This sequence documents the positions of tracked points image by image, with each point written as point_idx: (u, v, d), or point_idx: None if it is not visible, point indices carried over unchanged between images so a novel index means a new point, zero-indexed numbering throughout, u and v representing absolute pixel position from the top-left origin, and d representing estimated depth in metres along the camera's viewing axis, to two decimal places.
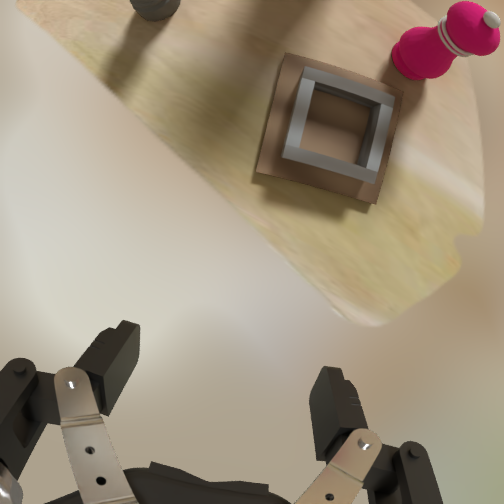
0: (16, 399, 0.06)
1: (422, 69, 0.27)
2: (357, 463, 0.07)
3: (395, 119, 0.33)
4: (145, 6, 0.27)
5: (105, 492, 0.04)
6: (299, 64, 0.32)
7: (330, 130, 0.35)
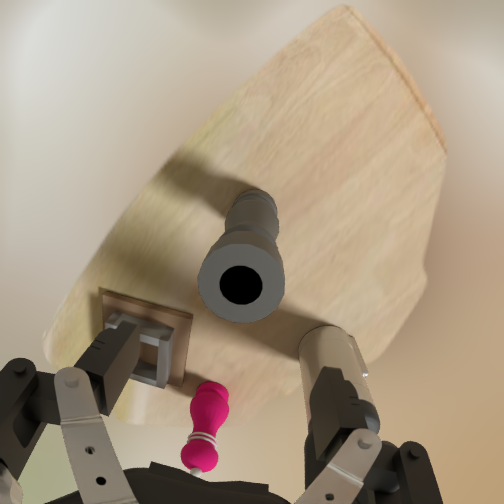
0: (16, 399, 0.06)
1: (190, 407, 0.49)
2: (357, 463, 0.07)
3: None
4: None
5: (105, 492, 0.04)
6: (182, 328, 0.48)
7: None
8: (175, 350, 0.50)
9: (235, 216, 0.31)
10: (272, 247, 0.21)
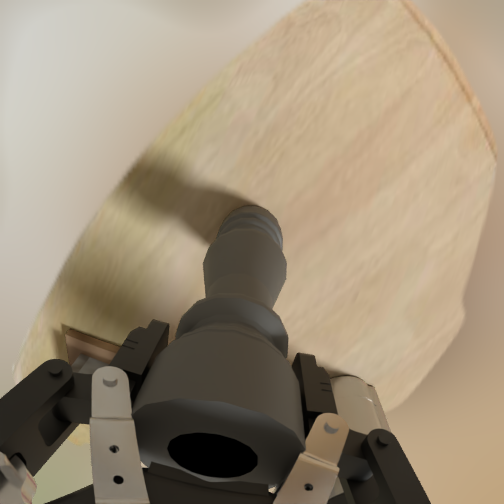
0: (46, 400, 0.06)
1: None
2: (328, 449, 0.07)
3: None
4: None
5: (105, 492, 0.04)
6: None
7: None
8: None
9: (217, 262, 0.19)
10: (280, 374, 0.09)
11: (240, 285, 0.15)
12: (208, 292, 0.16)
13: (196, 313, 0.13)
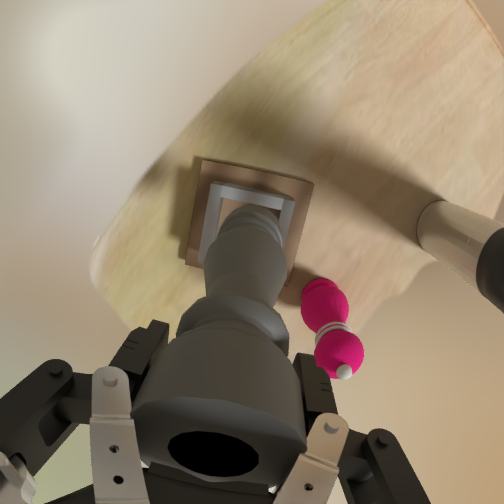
0: (46, 400, 0.06)
1: (305, 305, 0.43)
2: (328, 449, 0.07)
3: None
4: None
5: (105, 492, 0.04)
6: (302, 196, 0.42)
7: None
8: (289, 229, 0.44)
9: (217, 260, 0.19)
10: (281, 373, 0.09)
11: (241, 283, 0.15)
12: (209, 291, 0.16)
13: (197, 311, 0.13)
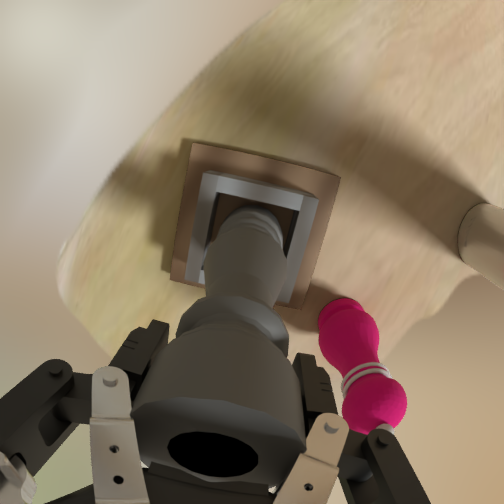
0: (46, 399, 0.06)
1: (326, 335, 0.32)
2: (327, 449, 0.07)
3: None
4: None
5: (105, 492, 0.04)
6: (325, 193, 0.32)
7: None
8: None
9: (217, 260, 0.19)
10: (281, 373, 0.09)
11: (240, 284, 0.15)
12: (208, 291, 0.16)
13: (196, 312, 0.13)
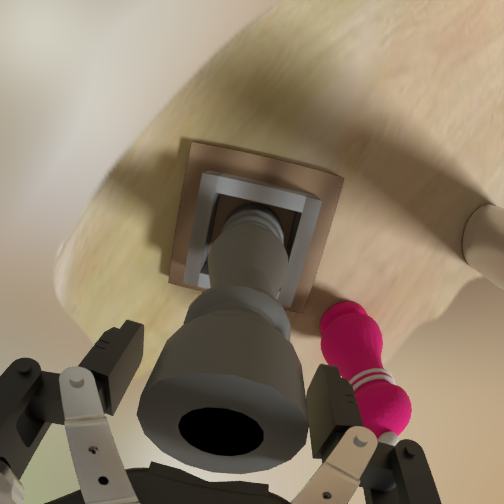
0: (20, 399, 0.06)
1: (328, 339, 0.31)
2: (353, 461, 0.07)
3: None
4: None
5: (105, 492, 0.04)
6: (327, 194, 0.31)
7: None
8: None
9: (222, 255, 0.20)
10: (284, 354, 0.10)
11: (244, 276, 0.16)
12: (214, 283, 0.17)
13: (204, 301, 0.14)
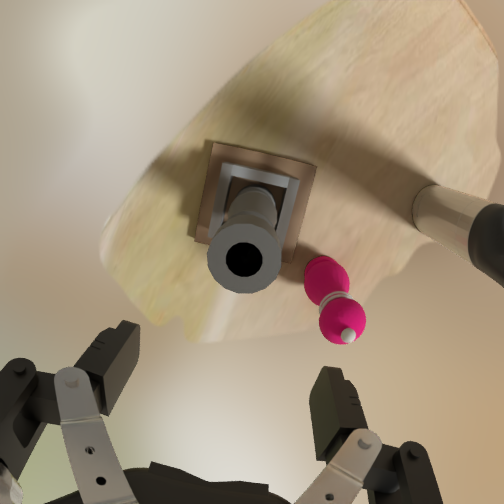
0: (16, 399, 0.06)
1: (309, 279, 0.46)
2: (357, 463, 0.07)
3: None
4: None
5: (105, 492, 0.04)
6: (305, 177, 0.45)
7: None
8: (293, 208, 0.47)
9: (238, 206, 0.34)
10: (270, 228, 0.24)
11: None
12: None
13: (233, 218, 0.28)
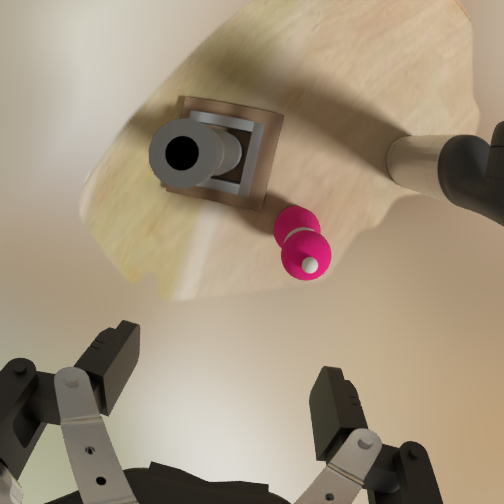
0: (16, 399, 0.06)
1: (277, 223, 0.46)
2: (357, 463, 0.07)
3: (235, 204, 0.49)
4: None
5: (105, 492, 0.04)
6: (273, 125, 0.45)
7: None
8: (261, 155, 0.46)
9: None
10: (211, 129, 0.24)
11: None
12: None
13: None
